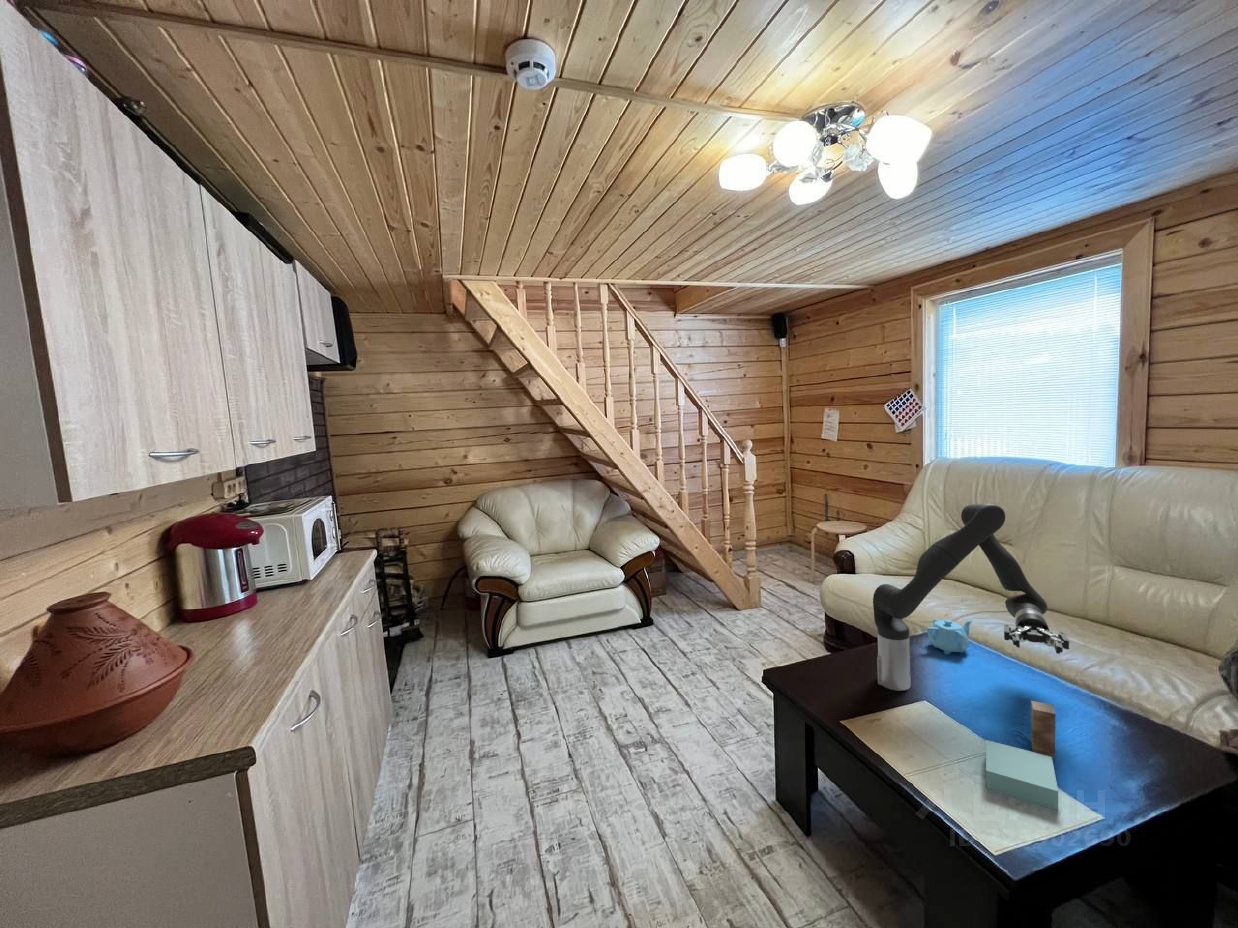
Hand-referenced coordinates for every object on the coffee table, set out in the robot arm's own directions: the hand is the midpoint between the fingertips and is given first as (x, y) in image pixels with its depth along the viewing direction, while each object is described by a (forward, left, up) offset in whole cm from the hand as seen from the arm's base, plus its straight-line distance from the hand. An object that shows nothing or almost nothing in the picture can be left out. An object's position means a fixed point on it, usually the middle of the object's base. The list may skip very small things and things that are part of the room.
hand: (1037, 647), depth 137 cm
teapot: (-21, +42, -24) cm, 52 cm away
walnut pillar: (0, -11, -23) cm, 26 cm away
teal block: (-6, -27, -24) cm, 37 cm away
